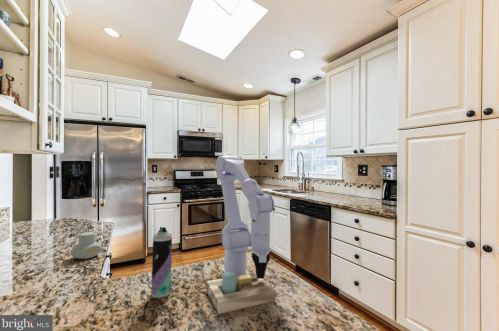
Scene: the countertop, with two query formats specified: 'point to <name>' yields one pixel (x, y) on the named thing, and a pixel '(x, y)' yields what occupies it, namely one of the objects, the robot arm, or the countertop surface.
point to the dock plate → (240, 294)
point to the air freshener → (86, 246)
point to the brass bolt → (244, 280)
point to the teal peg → (228, 283)
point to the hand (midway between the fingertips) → (260, 277)
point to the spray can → (161, 263)
